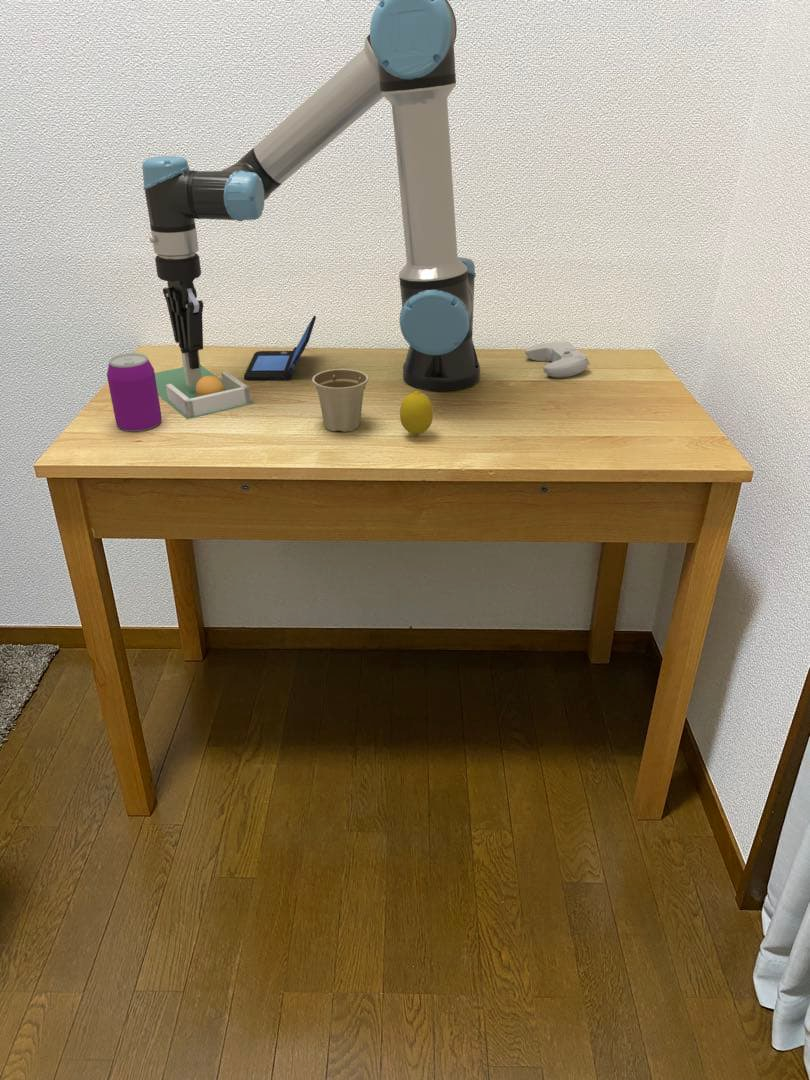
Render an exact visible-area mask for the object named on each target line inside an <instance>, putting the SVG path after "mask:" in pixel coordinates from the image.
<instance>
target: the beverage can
mask: <svg viewBox="0 0 810 1080" xmlns="http://www.w3.org/2000/svg"><path fill="white" fill-rule="evenodd" d="M155 373H156V372H155V369H154V367H153V365H152V363H151V361H150V359H149V358H148V356H147V354H144V353H138V352H137V353H136V352H129V353H121V354H117V355H115V356H112V357H111V358H109V360H108V368H107V372H106V377H107V383H108V388H109V395H110V398H111V404H112V409H113V414H114V420H115V424H116V425H117V427H118V428H119V429H121V430H123V431H125V432H126V431H127V432H144V431H148V430H152V429H154V428H156V427H158V426H159V425H160V424H161V422H162V420H163V419H162V410H161V404H160V398H159V397H160V396H159V395H158V391H157V385H156V378H155Z"/></svg>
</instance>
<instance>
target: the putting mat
mask: <svg viewBox="0 0 810 1080" xmlns="http://www.w3.org/2000/svg"><path fill="white" fill-rule="evenodd" d="M200 367H201V375H202V377H204V376H214V377H217V378H218V379H219V380H220V381H221V382H222V384H223V381H222V379H221V378H220V377H218V376H217V375H216V374H214V373H213V372H211V371H210V370H209V369H207V368H205V366H202V364H200ZM155 378H156V385H157V391H158V397H160V398H161V399H163V400H164V402H166V403H167V404H168V405H170V407H172V408H173V409H174V410H175V411H176V412H178V413H179V414H180V415H181V416H183V417H184V418H185V419H186V420H191V419H196V418H200V417H203V416H208V415H209V416H210V415H212V414H216V413H221V412H225V411H230V410H234V409H239V408H241V407H246V406H251V405H255V402H254V401H252V400H251V403H249V404H245V405H241V406H236V407H232V408H228V409H224V410H219V411H215V412H211V413H207V414H203V415H198V416H194V417H190V418H189V417H187V416H186V415H185V414H184V413H183V412H181V411H180V410H179V409H178V408H177V407H175V406H174V405H173V404H172V403H171V402H170V401H168V397H167V390H166V385H167V384H172V385H173V386H174V387H176V388H177V389H178V390H179V391H181V392H182V393H183V394H184V395H186V396H187V397H188V398H189V399H191V398H195V397H198V396H197V393H196V385H192V386H188V385H187V384H186V380H185V373H184V366H182V367H177V368H172V369H168V370H167V369H166V370H163V371H158V372H155ZM224 391H226V389H224Z"/></svg>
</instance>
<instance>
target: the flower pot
mask: <svg viewBox="0 0 810 1080" xmlns="http://www.w3.org/2000/svg"><path fill="white" fill-rule="evenodd" d="M311 381H312V384H313V385H314V387H315V389H316V392H317V395H318V399H319V404H320V405H319V406H320V410H321V411H320V412H321V415H322V420H323V426H324V428H325V429H327V430H328V431H330V432H331V431H332V432H337V431H341V432H343V433H345V432H351V431H354V430H356V429H358V428H359V427H360V424H361V416H362V410H363V409H362V408H363V400H364V391H365V389H366V387H367V386H366V385H367V383H368V382H369V376H368V374H367V373H364V372H363V371H360V370H356V369H350V368H349V369H347V368H336V369H335V368H334V369H328V370H327V369H326V370H324V371H321V372H318V373H316V374H315V375H313V376H312V379H311Z"/></svg>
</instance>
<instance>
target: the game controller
mask: <svg viewBox="0 0 810 1080" xmlns="http://www.w3.org/2000/svg"><path fill="white" fill-rule="evenodd" d="M524 354H525V356H526V358H528V359H530V360H532V361H537V362H549V363H548V364H545V365H544V366H542V371H543V372H544V374H546V375H547V376H549V377H552V378H555V379H556V378H558V379H560V378H561V379H562V378H568V377H573V376H576V375H578V374H580V373H583V371H585V370H586V369H587V368H588V367H589V365H590V361H589V358H588V357H587V354H586V353H582V352H581V351H580V350H578V348H577V347H575V346H573V345H572V343H571V342H569V341H550V342H542V343H539V344H538V343H537V344H534V345H530V346H528V347H527V348H525V349H524Z"/></svg>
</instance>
